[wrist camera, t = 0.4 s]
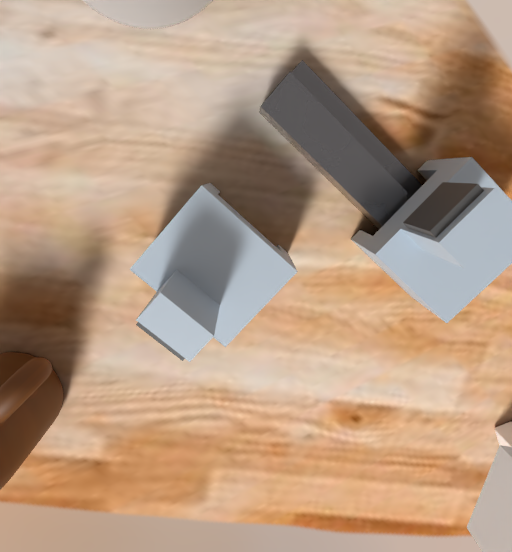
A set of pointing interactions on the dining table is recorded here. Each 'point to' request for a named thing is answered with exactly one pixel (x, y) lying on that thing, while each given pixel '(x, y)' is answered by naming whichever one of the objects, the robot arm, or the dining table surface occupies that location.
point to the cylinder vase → (148, 11)
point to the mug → (25, 407)
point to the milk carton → (504, 434)
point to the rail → (339, 145)
